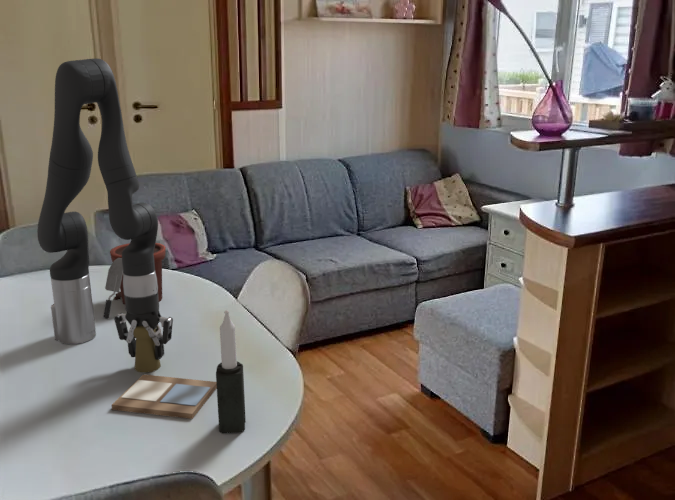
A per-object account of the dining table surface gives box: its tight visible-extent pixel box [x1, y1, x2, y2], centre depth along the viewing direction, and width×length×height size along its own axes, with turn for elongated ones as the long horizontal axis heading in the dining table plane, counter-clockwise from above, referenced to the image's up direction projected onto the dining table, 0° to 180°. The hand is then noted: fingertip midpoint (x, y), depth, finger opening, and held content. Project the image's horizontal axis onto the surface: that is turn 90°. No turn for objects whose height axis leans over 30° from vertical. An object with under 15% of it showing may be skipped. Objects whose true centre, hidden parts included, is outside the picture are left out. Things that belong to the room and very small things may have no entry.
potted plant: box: [102, 242, 167, 319], centre depth 199 cm, size 18×22×25 cm
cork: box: [133, 326, 162, 374], centre depth 161 cm, size 6×6×11 cm
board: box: [111, 374, 217, 420], centre depth 148 cm, size 18×14×1 cm
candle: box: [215, 309, 247, 434], centre depth 133 cm, size 5×5×25 cm
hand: (146, 356), depth 161 cm, fingers open, 5 cm apart
